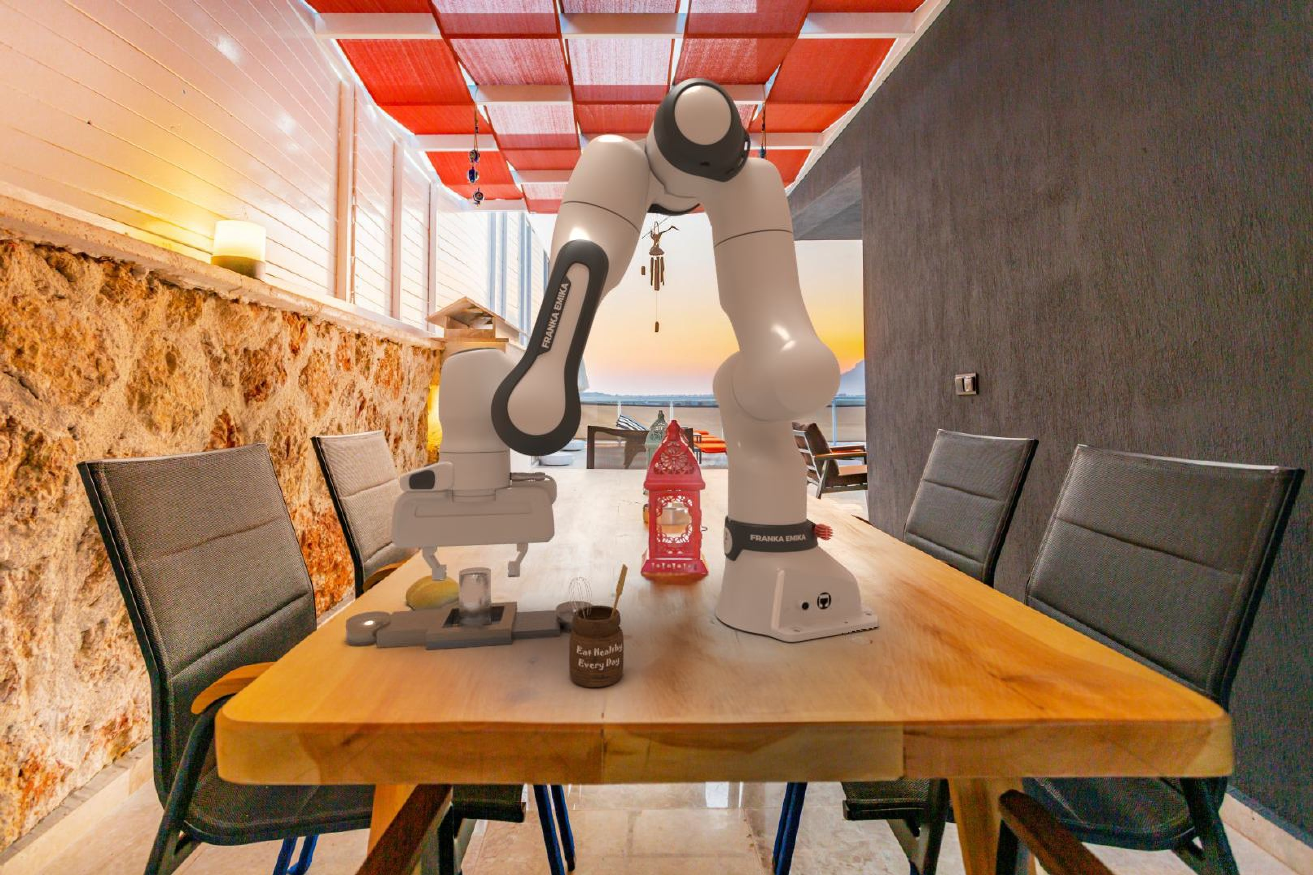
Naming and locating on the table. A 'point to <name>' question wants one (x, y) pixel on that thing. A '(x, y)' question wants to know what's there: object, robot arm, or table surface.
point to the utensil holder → (597, 642)
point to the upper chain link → (423, 626)
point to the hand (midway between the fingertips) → (477, 577)
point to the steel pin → (475, 597)
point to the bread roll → (432, 593)
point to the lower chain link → (521, 627)
